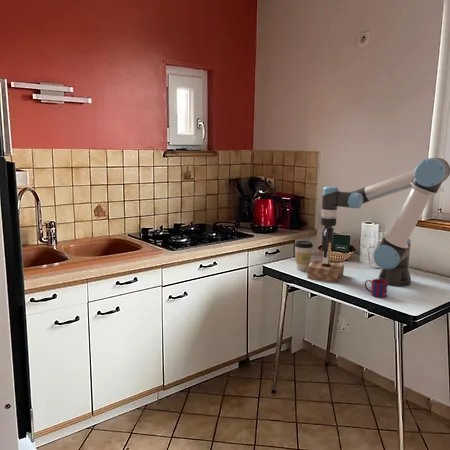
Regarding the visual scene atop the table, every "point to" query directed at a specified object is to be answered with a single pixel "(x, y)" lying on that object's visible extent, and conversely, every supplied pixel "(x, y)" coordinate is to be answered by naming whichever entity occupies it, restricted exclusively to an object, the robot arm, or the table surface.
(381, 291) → the cup
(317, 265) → the socket block
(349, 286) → the table surface
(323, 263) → the pin
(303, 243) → the coffee cup
